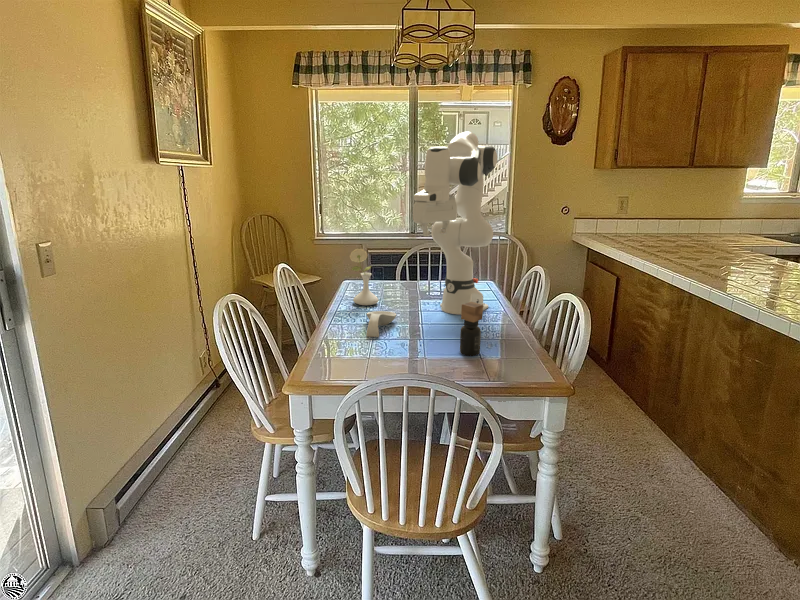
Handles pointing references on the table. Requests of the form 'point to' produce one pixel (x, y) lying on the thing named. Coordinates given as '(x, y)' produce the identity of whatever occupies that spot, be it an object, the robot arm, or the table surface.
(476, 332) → the supplement bottle
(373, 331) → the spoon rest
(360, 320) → the table surface
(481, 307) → the walnut cube
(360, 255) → the flower in vase
